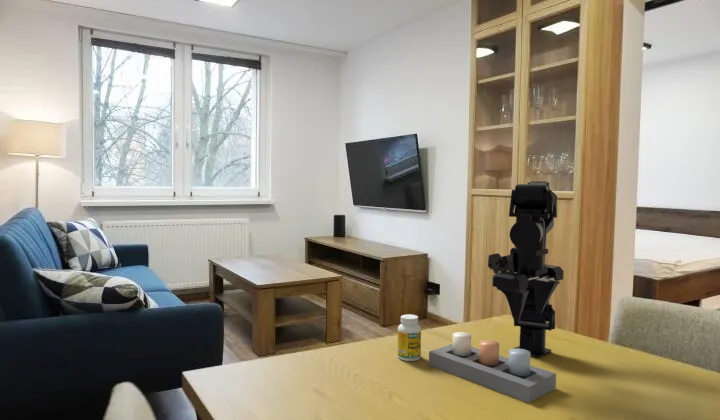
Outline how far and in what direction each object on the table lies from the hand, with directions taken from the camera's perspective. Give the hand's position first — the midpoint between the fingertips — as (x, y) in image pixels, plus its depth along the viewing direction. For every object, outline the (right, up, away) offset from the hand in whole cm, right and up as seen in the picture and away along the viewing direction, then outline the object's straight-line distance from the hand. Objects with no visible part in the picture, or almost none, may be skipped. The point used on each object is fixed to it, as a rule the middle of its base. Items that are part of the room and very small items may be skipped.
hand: (528, 316), depth 101 cm
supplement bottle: (-24, -12, +8) cm, 28 cm away
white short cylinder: (-14, -9, +3) cm, 16 cm away
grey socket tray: (-9, -12, -2) cm, 15 cm away
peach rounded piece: (-9, -9, -2) cm, 13 cm away
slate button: (-4, -9, -8) cm, 13 cm away
